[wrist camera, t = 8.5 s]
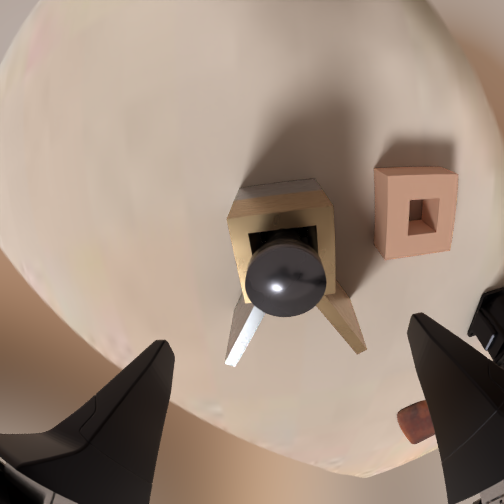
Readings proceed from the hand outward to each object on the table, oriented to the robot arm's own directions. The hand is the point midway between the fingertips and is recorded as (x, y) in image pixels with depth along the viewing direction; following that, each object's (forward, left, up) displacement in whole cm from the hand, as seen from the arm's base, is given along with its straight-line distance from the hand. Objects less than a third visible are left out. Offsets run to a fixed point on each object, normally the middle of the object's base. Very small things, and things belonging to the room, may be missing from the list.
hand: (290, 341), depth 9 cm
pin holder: (-10, 0, -12) cm, 16 cm away
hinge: (0, +3, -12) cm, 12 cm away
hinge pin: (0, 0, -12) cm, 12 cm away
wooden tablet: (-25, +44, -13) cm, 52 cm away
